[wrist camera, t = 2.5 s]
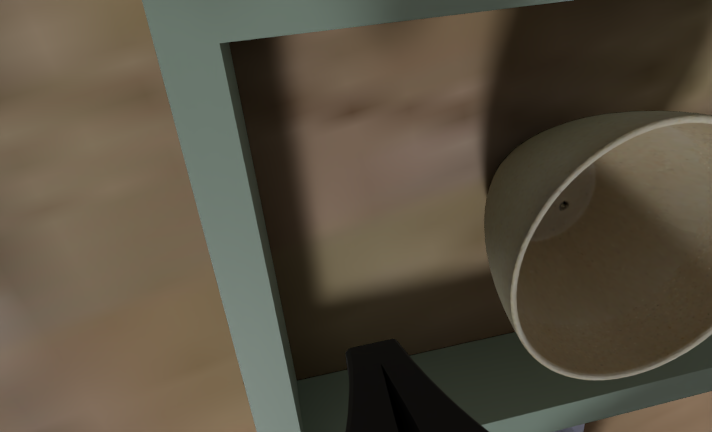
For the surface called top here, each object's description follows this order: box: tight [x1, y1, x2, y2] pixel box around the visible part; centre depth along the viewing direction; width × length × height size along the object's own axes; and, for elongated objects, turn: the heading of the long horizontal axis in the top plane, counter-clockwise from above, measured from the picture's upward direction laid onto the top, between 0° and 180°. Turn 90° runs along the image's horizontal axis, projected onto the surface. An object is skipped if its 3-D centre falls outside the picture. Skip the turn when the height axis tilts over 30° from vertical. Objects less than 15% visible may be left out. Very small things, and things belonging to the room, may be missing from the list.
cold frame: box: [142, 0, 712, 432], centre depth 20 cm, size 20×23×5 cm
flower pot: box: [484, 111, 712, 380], centre depth 19 cm, size 10×10×7 cm
